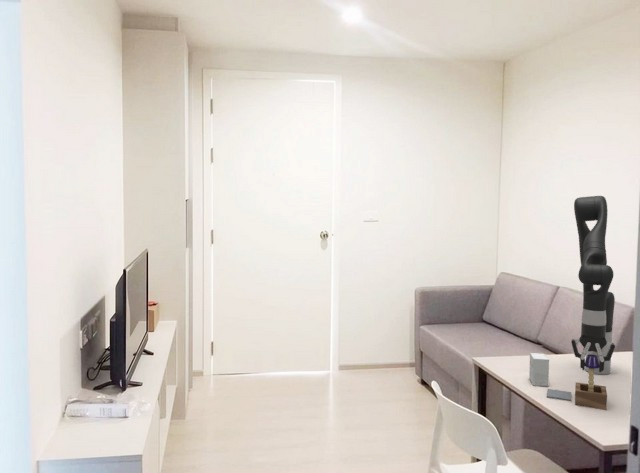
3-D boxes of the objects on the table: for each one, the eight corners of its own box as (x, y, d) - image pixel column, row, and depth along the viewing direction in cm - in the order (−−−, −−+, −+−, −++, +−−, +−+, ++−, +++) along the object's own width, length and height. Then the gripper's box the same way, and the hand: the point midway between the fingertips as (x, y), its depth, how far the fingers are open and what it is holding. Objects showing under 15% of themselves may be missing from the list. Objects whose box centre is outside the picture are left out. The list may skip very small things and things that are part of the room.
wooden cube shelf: (575, 395, 195) (575, 382, 195) (605, 400, 191) (605, 386, 191) (574, 405, 187) (575, 390, 186) (606, 409, 183) (607, 395, 182)
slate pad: (547, 390, 201) (547, 388, 201) (571, 393, 197) (571, 392, 197) (546, 397, 194) (546, 395, 193) (571, 401, 190) (571, 399, 190)
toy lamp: (580, 399, 191) (582, 353, 190) (592, 399, 192) (594, 353, 190) (587, 405, 186) (590, 357, 185) (600, 404, 187) (603, 357, 185)
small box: (548, 386, 204) (549, 359, 204) (532, 385, 205) (533, 358, 205) (544, 379, 212) (545, 353, 211) (528, 378, 213) (529, 352, 212)
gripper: (616, 321, 187) (614, 370, 188) (570, 317, 193) (569, 364, 195) (618, 326, 180) (615, 376, 182) (570, 322, 186) (568, 370, 188)
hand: (591, 370), depth 188 cm, fingers closed on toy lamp, 4 cm apart
